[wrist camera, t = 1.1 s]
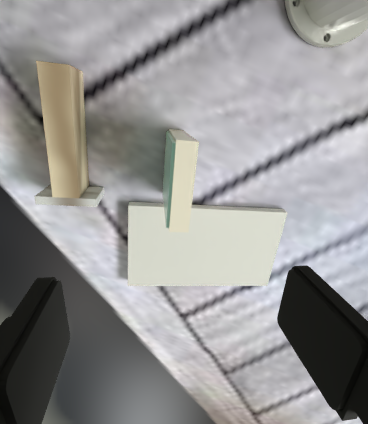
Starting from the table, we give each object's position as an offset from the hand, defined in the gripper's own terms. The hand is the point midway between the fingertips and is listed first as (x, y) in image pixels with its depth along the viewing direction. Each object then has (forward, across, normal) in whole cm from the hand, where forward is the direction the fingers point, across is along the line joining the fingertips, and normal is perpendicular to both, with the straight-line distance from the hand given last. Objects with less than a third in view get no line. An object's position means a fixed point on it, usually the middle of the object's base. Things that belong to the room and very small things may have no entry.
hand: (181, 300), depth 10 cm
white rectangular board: (+26, -8, +12) cm, 30 cm away
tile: (+26, -2, -1) cm, 26 cm away
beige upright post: (+26, +11, -4) cm, 29 cm away
